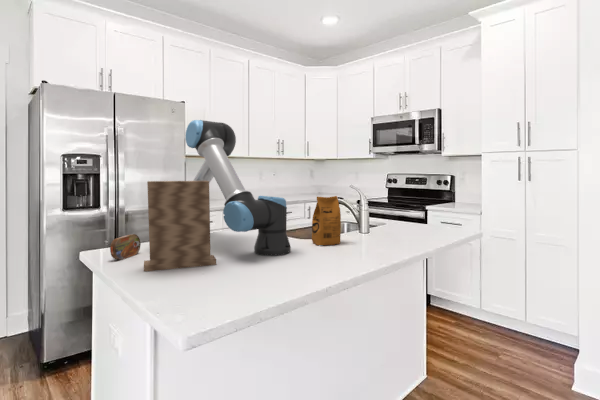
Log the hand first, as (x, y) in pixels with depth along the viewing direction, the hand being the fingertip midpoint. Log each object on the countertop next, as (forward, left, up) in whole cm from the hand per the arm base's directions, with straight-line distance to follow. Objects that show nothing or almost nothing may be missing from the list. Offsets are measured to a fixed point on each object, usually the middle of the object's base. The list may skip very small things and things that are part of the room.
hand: (176, 222), depth 150 cm
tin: (+19, +2, -13) cm, 23 cm away
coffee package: (-65, +7, -13) cm, 67 cm away
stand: (0, +23, -12) cm, 26 cm away
